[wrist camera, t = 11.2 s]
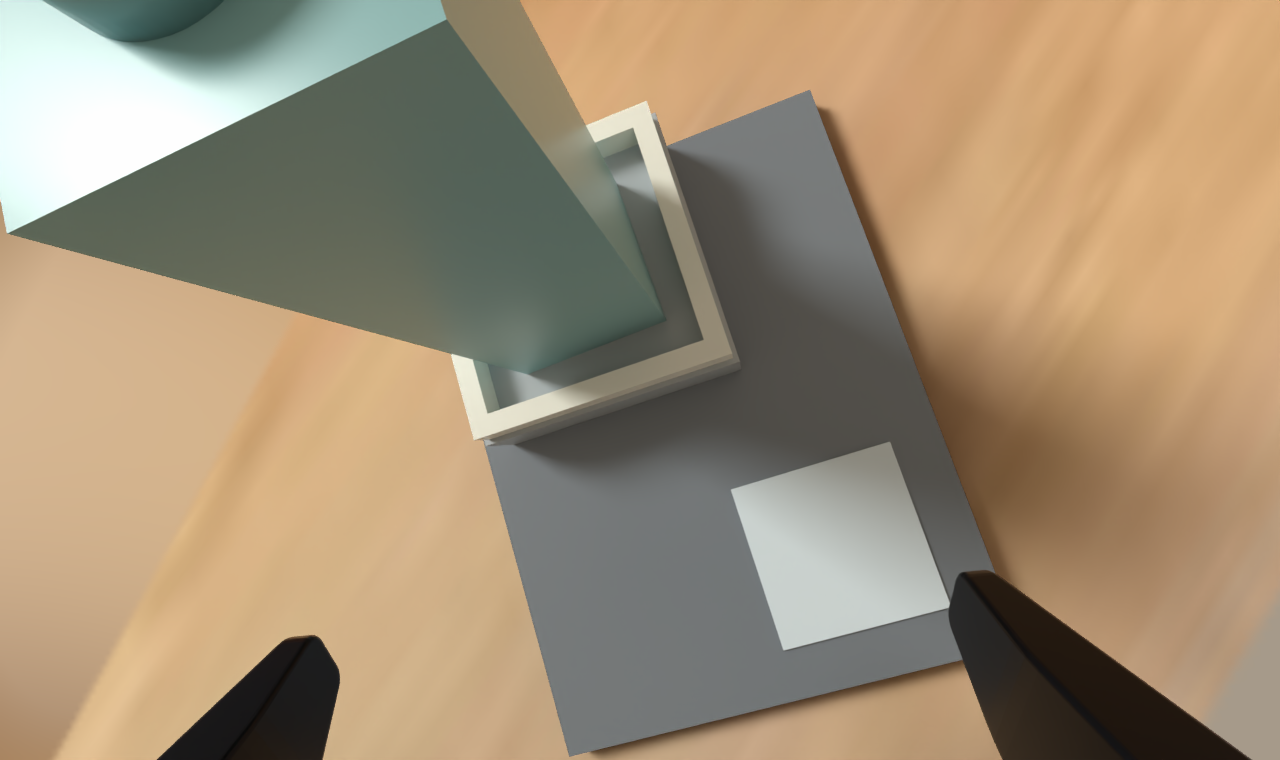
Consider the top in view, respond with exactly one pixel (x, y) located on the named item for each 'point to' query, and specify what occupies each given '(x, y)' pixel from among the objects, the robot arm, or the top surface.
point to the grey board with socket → (729, 452)
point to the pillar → (326, 165)
